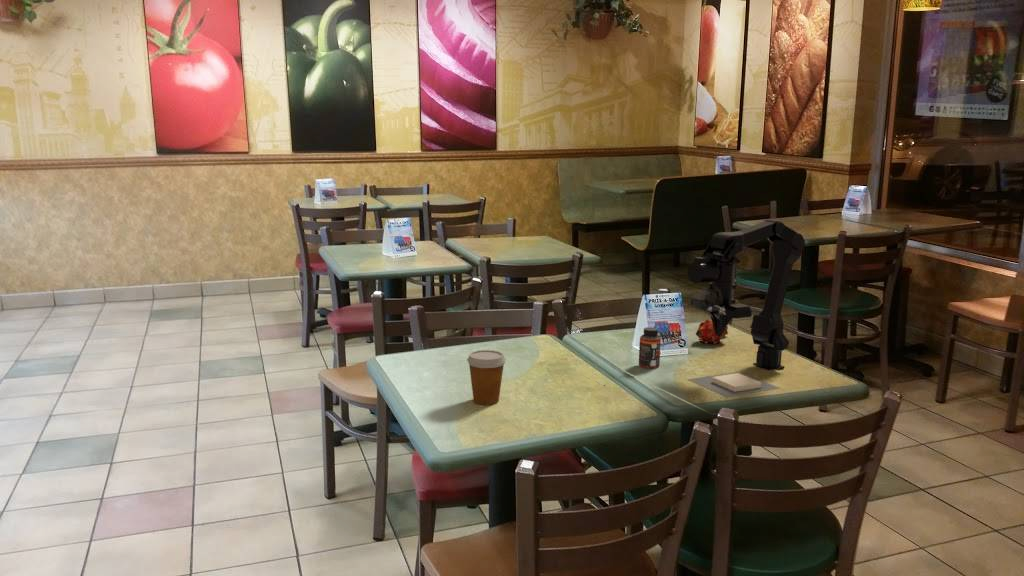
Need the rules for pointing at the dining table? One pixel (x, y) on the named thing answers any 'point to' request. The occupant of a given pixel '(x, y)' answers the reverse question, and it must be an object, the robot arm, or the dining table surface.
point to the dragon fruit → (709, 332)
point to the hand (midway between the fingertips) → (718, 336)
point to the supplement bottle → (649, 348)
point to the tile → (736, 382)
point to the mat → (726, 392)
